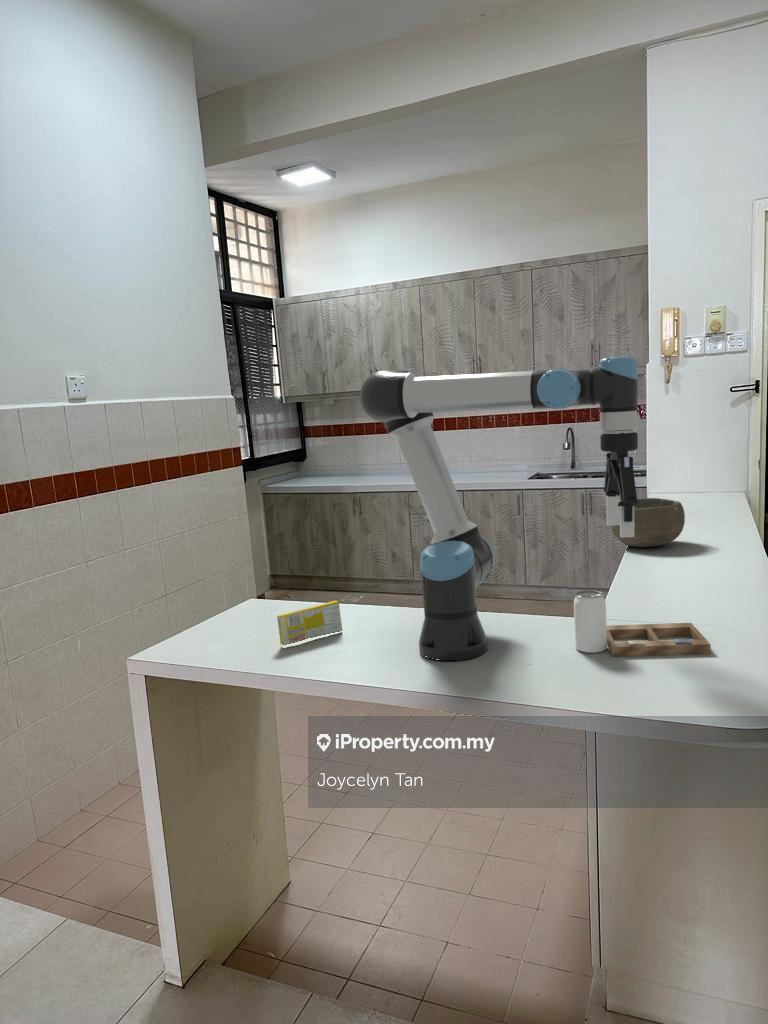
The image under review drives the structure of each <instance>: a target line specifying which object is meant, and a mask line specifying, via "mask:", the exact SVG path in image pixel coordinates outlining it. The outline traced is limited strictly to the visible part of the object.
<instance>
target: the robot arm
mask: <svg viewBox="0 0 768 1024" xmlns="http://www.w3.org/2000/svg"><path fill="white" fill-rule="evenodd" d="M638 380H639V377H638V362H637V360H636V359H635V357H633V356H617V357H606V358H602V359H600V360H599V365H598V368H591V369H575V370H573V369H572V370H570V369H566V368H552V369H543V370H527V371H526V370H525V371H524V370H522V371H508V372H505V371H504V372H489V373H487V372H486V373H473V374H472V373H471V374H469V373H468V374H452V375H432V376H420V375H418V374H416V373H414V372H411V371H410V370H409V371H408V370H387V369H386V370H379V371H376V372H374V373H372V374H370V375H369V376H368V377H366V379H365V380H364V381H363V383H362V386H361V387H360V393H359V401H360V405H361V408H362V410H363V411H364V413H365V414H366V415H367V417H369V418H370V419H371V420H374V421H376V422H380V423H383V424H384V428H385V429H386V432H387V435H388V436H389V437H391V438H393V439H395V440H397V443H398V445H399V447H400V448H399V449H400V450H401V453H402V455H403V458H404V461H405V463H406V466H407V468H408V470H409V473H410V476H411V478H412V481H413V483H414V486H415V488H416V491H417V494H418V495H419V499H420V501H421V504H422V506H423V508H424V511H425V513H426V514H425V515H426V516H427V518H428V520H429V524H430V526H431V529H432V531H433V535H432V538H431V541H430V545H428V546H426V547H425V548H424V549H423V550H421V553H420V558H419V559H420V563H419V571H420V578H421V586H422V587H421V588H422V589H421V590H422V600H423V612H424V619H423V623H422V627H421V632H420V634H419V635H420V636H419V640H418V649H419V650H418V651H419V654H420V653H421V654H423V655H424V656H427V657H429V658H433V659H439V660H460V661H465V660H464V659H467V660H470V659H469V658H471V659H474V658H473V657H475V658H477V657H480V656H482V655H483V654H485V653H486V652H487V651H488V649H487V648H489V647H488V638H487V634H486V632H485V630H484V628H483V625H482V622H481V620H480V618H479V614H478V604H477V590H476V589H477V588H478V587H479V586H480V585H481V584H482V583H483V582H485V581H486V580H487V578H488V577H489V576H490V574H491V572H492V570H493V567H494V563H495V554H494V550H493V548H492V546H491V544H490V543H489V541H488V540H487V539H485V538H484V537H483V536H482V535H481V531H480V530H479V527H478V525H477V524H476V523H475V522H474V523H473V522H471V521H470V520H469V519H468V517H467V515H466V512H465V509H464V506H463V503H462V502H461V499H460V496H459V495H458V491H457V489H456V487H455V484H454V482H453V481H454V480H453V479H452V475H451V474H450V471H449V468H448V465H447V464H446V461H445V459H444V456H443V454H442V451H441V449H440V446H439V443H438V440H437V439H436V435H435V433H434V431H433V428H432V424H433V421H434V419H435V415H434V413H448V412H449V413H451V412H453V413H454V412H456V413H457V412H479V411H480V412H481V411H483V412H484V411H503V410H504V411H505V410H506V411H509V410H510V411H511V410H529V409H531V410H533V409H534V410H535V409H536V410H537V409H538V410H541V409H553V410H560V409H562V410H563V409H566V408H568V407H576V406H577V407H579V406H595V405H599V430H600V431H601V432H602V433H601V434H600V443H599V444H600V450H601V451H602V452H606V453H605V456H606V463H605V475H604V485H603V487H604V488H603V492H604V493H605V496H606V498H605V500H606V501H605V504H606V505H605V506H606V507H605V508H606V509H605V510H606V511H605V512H606V515H605V516H606V518H605V519H606V526H607V527H610V526H613V525H620V537H634V506H635V504H637V499H638V496H637V488H636V482H635V472H634V458H633V456H629V452H632V451H636V450H638V447H639V436H638V435H639V434H638V433H637V431H635V430H637V429H638V420H640V419H641V415H640V414H638V406H639V405H638V397H639V396H638V394H639V391H638V390H639V389H638V387H639V386H638V385H639V382H638ZM619 501H621V502H619ZM619 506H620V510H619ZM486 650H487V651H486ZM485 651H486V652H485ZM484 652H485V653H484ZM421 654H420V655H421ZM481 654H482V655H481ZM479 655H480V656H479ZM424 656H423V657H424ZM476 656H477V657H476ZM429 658H428V659H429Z"/></svg>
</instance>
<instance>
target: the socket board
mask: <svg viewBox="0 0 768 1024" xmlns="http://www.w3.org/2000/svg"><path fill="white" fill-rule="evenodd" d="M606 629H607V648H608V650H609V652H610V654H611V656H612V657H613V658H614V657H639V656H641V657H643V656H645V657H648V656H674V655H675V656H679V655H680V656H682V655H709V654H711V652H712V651H711V650H712V649H711V643H710V642H709V641H708V639H706V637H705V636H704V635H703V634H702V633H701V632H700V630H699V629H698V628H696V627H695V625H694V623H692V622H673V623H672V622H671V623H647V624H646V623H644V624H643V623H641V624H640V623H639V624H620V625H619V624H618V625H617V624H615V625H606ZM668 637H669V638H671V637H672V638H673V637H675V638H674V639H672V640H668V639H667V640H660V639H659V638H668ZM677 637H691V639H690V638H677ZM635 638H636V639H635ZM637 638H638V640H637ZM639 638H641V640H639ZM642 638H646V639H647V640H643V639H642ZM615 639H635V640H627V641H615Z"/></svg>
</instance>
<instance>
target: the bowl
mask: <svg viewBox="0 0 768 1024" xmlns="http://www.w3.org/2000/svg"><path fill="white" fill-rule="evenodd" d="M619 502H621V500H619ZM684 509H685V508H684V507H683V505H682V503H681V502H680V501H679V500H678V501H677V500H674V499H673V500H672V499H667V498H658V497H643V498H637V504H635V506H634V537H620V525H613V526H609V527H610V530H611V532H612V534H613V535H614V536H615V538H617V540H618V541H620V542H621V543H622V544H623V545H625V546H628V547H634V548H635V547H636V548H650V547H651V548H652V547H659V546H663V545H667V544H669V543H671V542H673V541H675V540H676V539H677V538H678V537H679V536H680V535H681V533H682V532H683V530H684V526H685V522H686V521H685V520H686V518H685V516H686V515H685V510H684ZM619 510H620V506H619Z"/></svg>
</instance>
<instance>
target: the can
mask: <svg viewBox="0 0 768 1024" xmlns="http://www.w3.org/2000/svg"><path fill="white" fill-rule="evenodd" d="M606 607H607V605H606V599H605V597H604V593H603V592H602V591H597V590H580V591H577V592H576V593H575V598H574V600H573V619H574V620H573V622H574V645H575V649H576V650H577V651H579V652H580V653H581V652H582V653H585V654H599V653H603V652H605V651H606V650H607V648H608V646H607V629H606V626H607V608H606Z"/></svg>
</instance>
